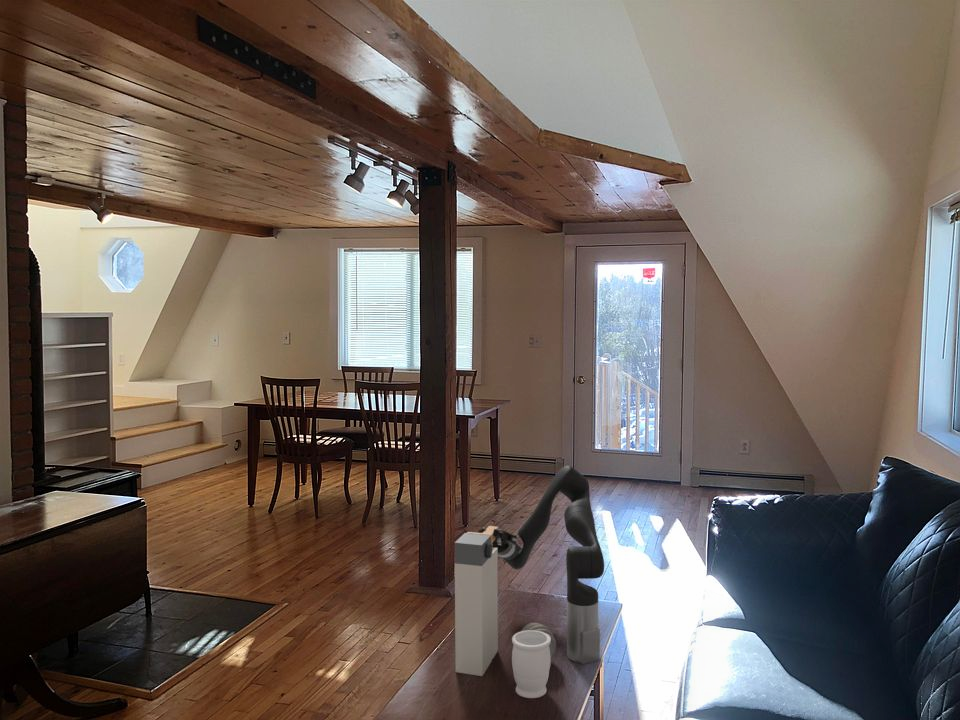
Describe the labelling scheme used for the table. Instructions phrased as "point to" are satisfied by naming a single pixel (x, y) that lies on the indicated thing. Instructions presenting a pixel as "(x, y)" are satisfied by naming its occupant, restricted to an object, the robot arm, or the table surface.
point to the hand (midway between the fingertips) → (489, 531)
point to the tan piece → (488, 532)
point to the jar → (531, 662)
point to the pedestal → (475, 603)
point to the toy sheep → (546, 630)
